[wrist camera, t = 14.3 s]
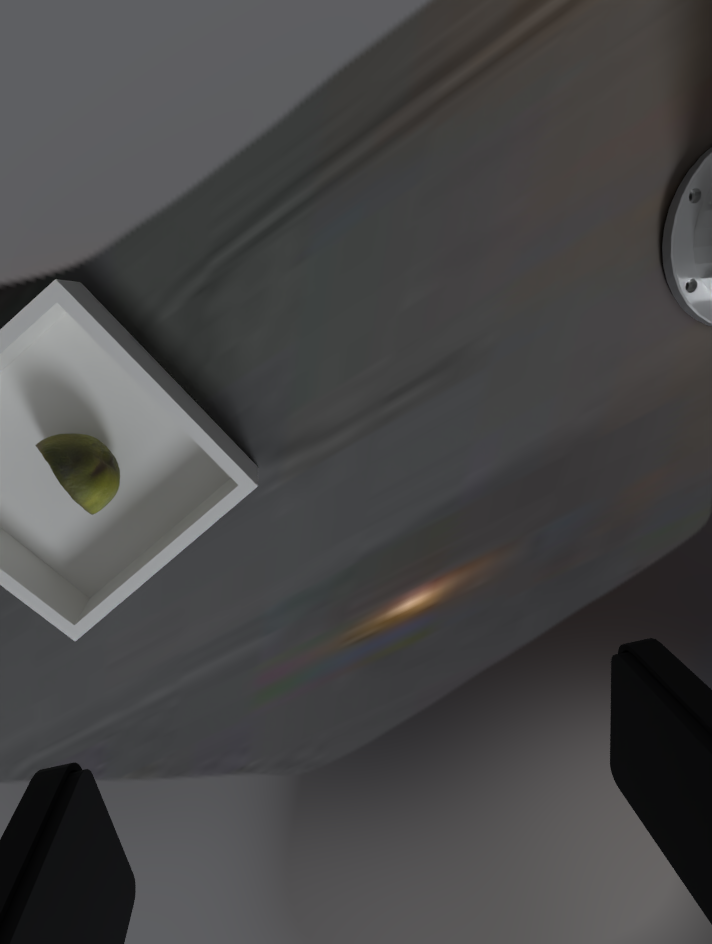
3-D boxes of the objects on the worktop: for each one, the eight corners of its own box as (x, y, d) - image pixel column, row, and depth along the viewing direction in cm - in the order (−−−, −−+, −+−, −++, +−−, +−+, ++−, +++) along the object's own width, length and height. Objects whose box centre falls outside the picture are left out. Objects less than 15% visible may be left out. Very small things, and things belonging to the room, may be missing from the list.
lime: (116, 505, 34) (93, 537, 30) (36, 477, 33) (-1, 505, 28) (141, 443, 33) (121, 466, 29) (60, 411, 32) (26, 430, 27)
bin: (80, 282, 31) (55, 279, 27) (258, 467, 36) (257, 486, 32) (-104, 449, 32) (-153, 468, 28) (93, 607, 37) (74, 641, 33)
